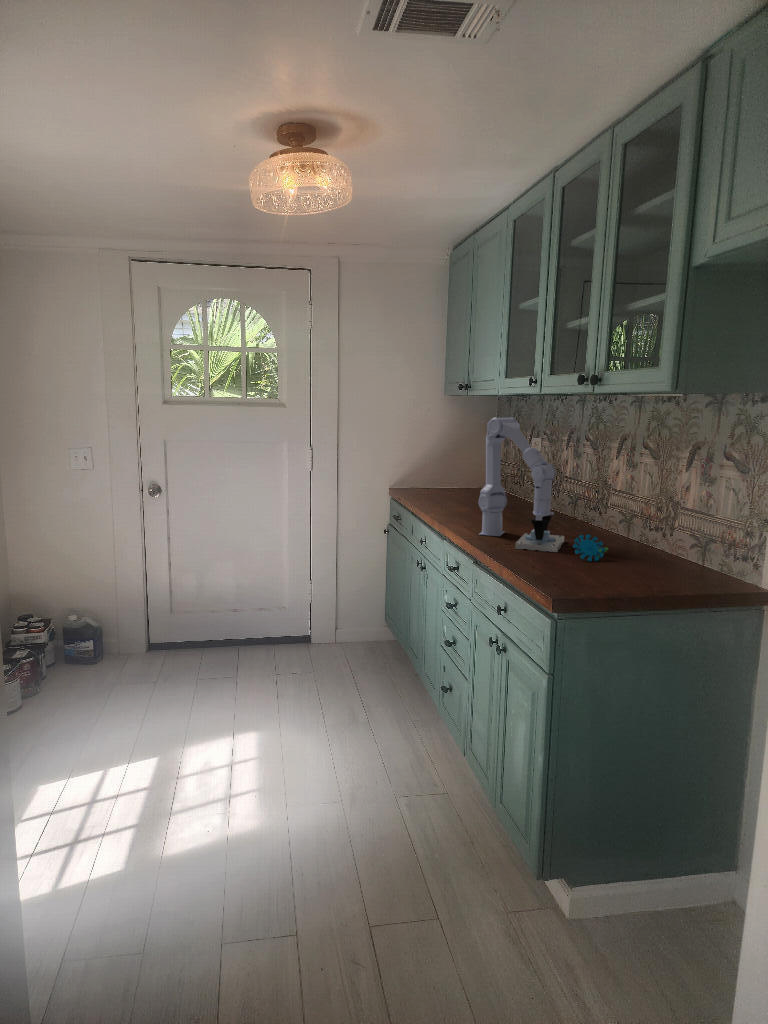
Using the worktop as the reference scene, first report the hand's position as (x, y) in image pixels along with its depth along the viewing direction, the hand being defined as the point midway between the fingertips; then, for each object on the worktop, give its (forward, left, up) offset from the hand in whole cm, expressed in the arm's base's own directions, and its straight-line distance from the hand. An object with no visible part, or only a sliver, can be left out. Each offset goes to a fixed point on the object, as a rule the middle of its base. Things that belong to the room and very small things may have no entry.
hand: (540, 537), depth 238 cm
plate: (0, 0, -3) cm, 3 cm away
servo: (0, 0, -3) cm, 3 cm away
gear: (+16, +18, -3) cm, 24 cm away
